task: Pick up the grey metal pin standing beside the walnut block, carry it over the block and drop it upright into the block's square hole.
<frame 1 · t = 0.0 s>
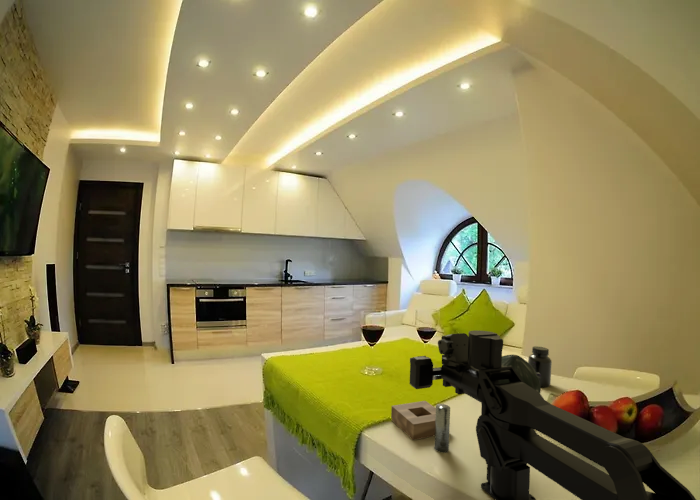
hand: (426, 358, 85), 17 cm above the table, tool horizontal, fingers open, 9 cm apart
pin: (441, 448, 76), on the table
supplement bottle: (538, 384, 118), on the table
hole block: (419, 426, 86), on the table
squash: (511, 402, 102), on the table
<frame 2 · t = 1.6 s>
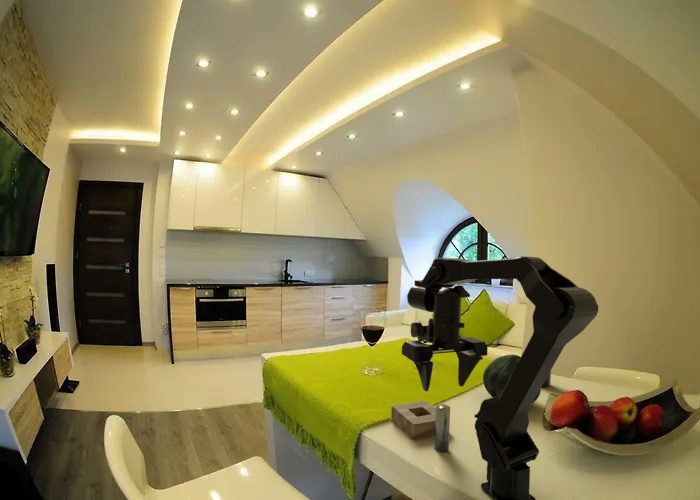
hand: (443, 388, 76), 13 cm above the table, tool pointing down, fingers open, 9 cm apart
nothing on the table moved.
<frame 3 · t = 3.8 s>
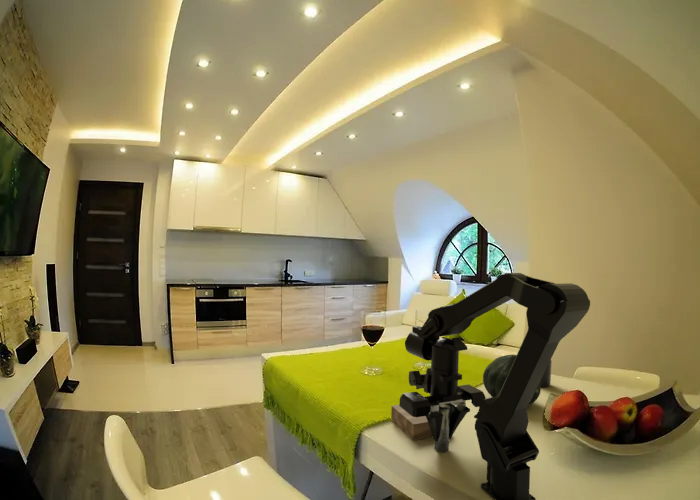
hand: (441, 439, 76), 2 cm above the table, tool pointing down, fingers closed on pin, 3 cm apart
pin: (441, 448, 76), on the table, touching gripper
everything else where it was.
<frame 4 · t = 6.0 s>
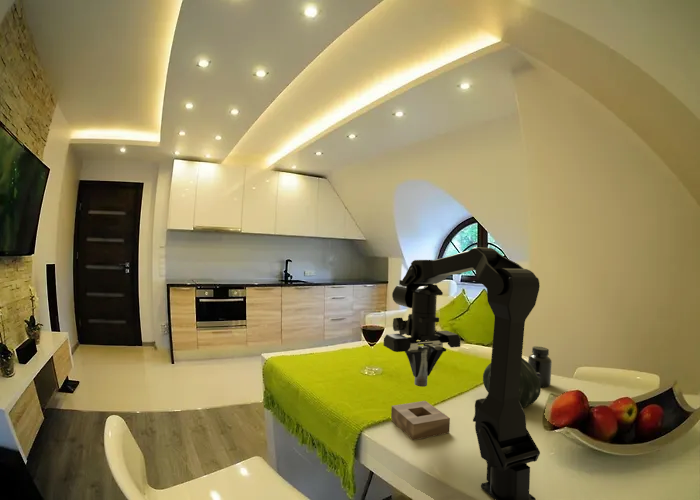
hand: (421, 376, 86), 12 cm above the table, tool pointing down, fingers closed on pin, 3 cm apart
pin: (420, 384, 86), point 10 cm above the table, touching gripper
everything else where it was.
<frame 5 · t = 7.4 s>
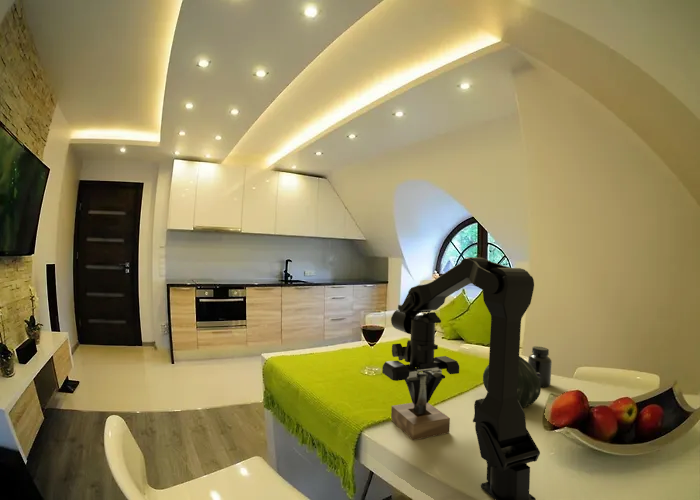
hand: (420, 403, 86), 6 cm above the table, tool pointing down, fingers closed on pin, 3 cm apart
pin: (419, 411, 86), point 4 cm above the table, touching gripper
everything else where it was.
when the fingers open (4 cm above the table, at t = 8.4 s): pin drops 2 cm, resting in hole block.
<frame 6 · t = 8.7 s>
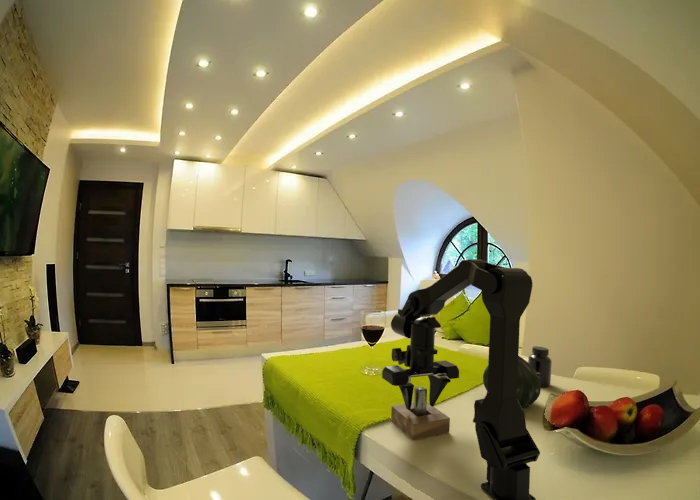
hand: (420, 407, 86), 4 cm above the table, tool pointing down, fingers open, 6 cm apart
pin: (419, 426, 86), resting in hole block
everything else where it was.
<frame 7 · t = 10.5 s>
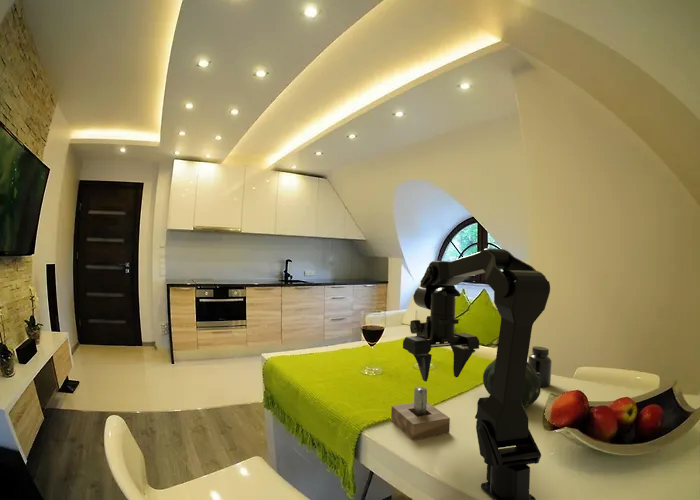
hand: (440, 378, 84), 12 cm above the table, tool pointing down, fingers open, 9 cm apart
nothing on the table moved.
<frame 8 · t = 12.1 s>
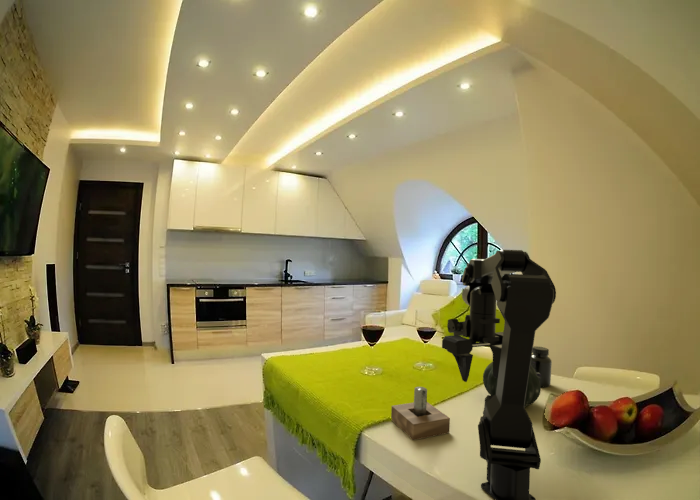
hand: (480, 379, 83), 13 cm above the table, tool pointing down, fingers open, 9 cm apart
nothing on the table moved.
at the end: pin 0.0 cm off-centre on the hole block, point 0.0 cm above the hole block's base; pin tilted 0°; the gripper is holding nothing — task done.
